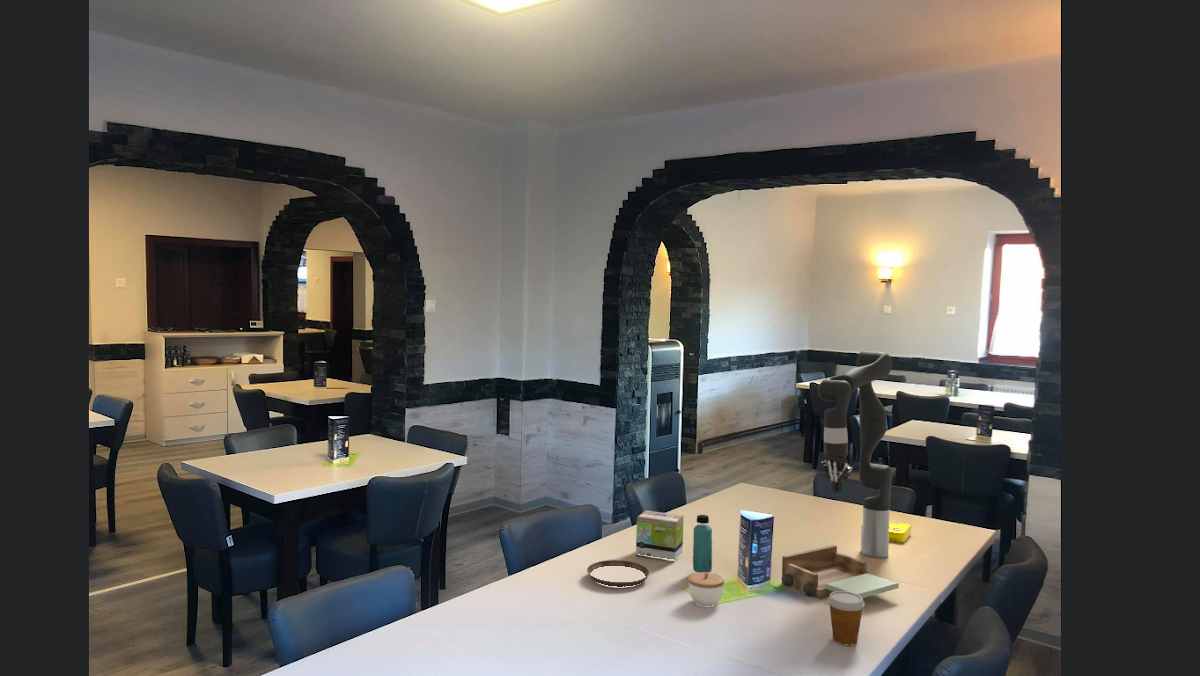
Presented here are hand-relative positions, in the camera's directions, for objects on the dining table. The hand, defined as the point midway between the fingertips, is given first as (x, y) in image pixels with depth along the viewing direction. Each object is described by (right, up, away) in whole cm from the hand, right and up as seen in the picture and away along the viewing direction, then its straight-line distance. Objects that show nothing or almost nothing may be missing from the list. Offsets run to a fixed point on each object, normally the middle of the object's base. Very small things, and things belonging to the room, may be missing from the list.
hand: (836, 492), depth 251 cm
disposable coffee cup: (-12, -31, -45) cm, 56 cm away
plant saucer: (-72, -29, -1) cm, 78 cm away
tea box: (-57, -28, +24) cm, 68 cm away
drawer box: (-4, -29, -3) cm, 30 cm away
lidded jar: (-46, -30, -20) cm, 59 cm away
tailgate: (0, -27, -10) cm, 29 cm away
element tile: (+37, -28, +52) cm, 70 cm away
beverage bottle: (-44, -29, +5) cm, 53 cm away
